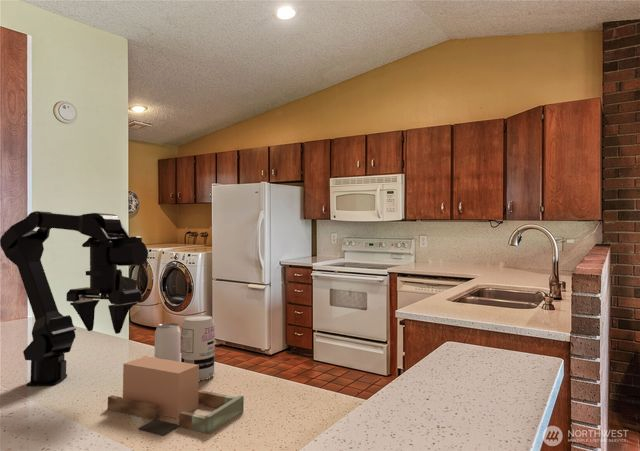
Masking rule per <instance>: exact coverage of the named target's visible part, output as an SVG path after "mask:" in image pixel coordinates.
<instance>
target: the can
mask: <svg viewBox="0 0 640 451" xmlns="http://www.w3.org/2000/svg"><path fill="white" fill-rule="evenodd" d="M153 358H160V359H166V360H172V361H178V362H181V327H180V324H179V323H174V322H170V323H168V322H166V323H161V324H157V325H156V330H155V331H154V356H153Z"/></svg>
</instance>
